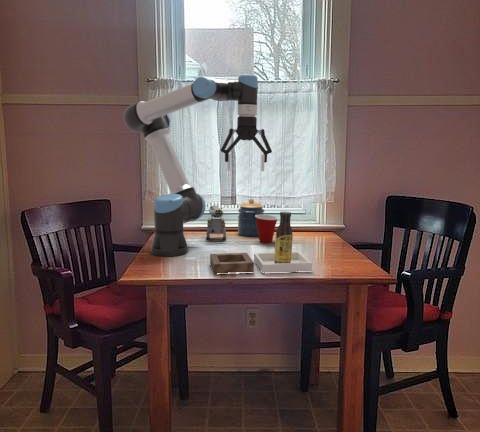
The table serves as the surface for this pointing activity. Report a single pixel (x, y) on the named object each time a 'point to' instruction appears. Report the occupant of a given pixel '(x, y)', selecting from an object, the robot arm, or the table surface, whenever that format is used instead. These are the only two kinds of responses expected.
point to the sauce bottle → (283, 239)
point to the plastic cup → (266, 227)
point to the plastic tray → (267, 263)
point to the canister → (249, 218)
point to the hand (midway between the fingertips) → (245, 170)
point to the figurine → (216, 223)
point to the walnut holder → (231, 263)
